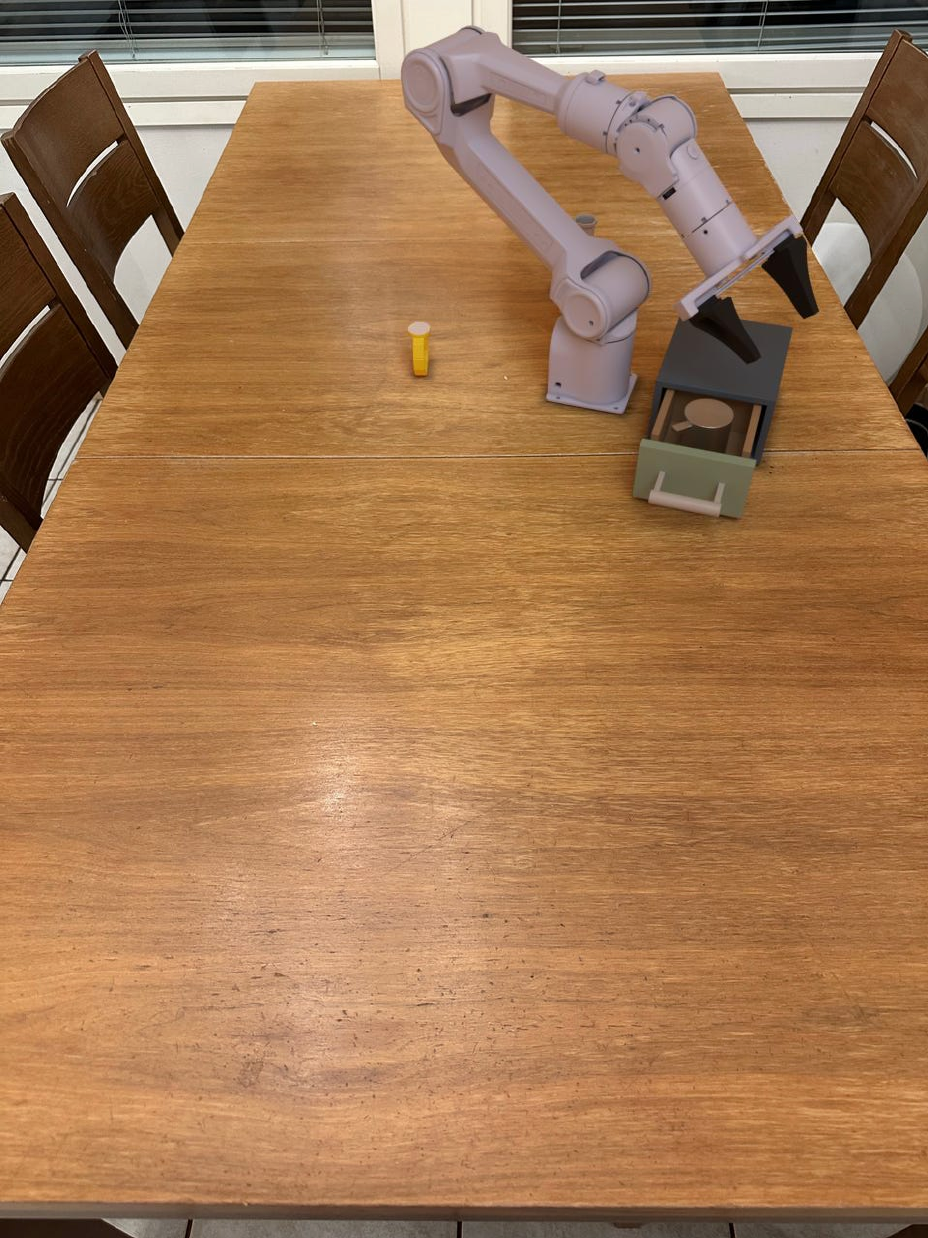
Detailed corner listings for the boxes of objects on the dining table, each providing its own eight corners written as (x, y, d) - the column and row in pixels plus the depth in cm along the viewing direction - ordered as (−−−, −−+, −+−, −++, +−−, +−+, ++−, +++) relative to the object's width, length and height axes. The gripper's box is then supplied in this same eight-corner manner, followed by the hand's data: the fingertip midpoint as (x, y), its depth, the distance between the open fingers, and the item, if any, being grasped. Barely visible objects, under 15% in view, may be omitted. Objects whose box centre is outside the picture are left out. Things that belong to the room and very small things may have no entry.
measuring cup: (705, 438, 104) (714, 393, 100) (732, 464, 101) (743, 418, 97) (654, 456, 102) (661, 411, 98) (680, 483, 99) (688, 437, 95)
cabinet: (759, 465, 104) (776, 400, 98) (646, 444, 107) (655, 379, 101) (776, 390, 113) (793, 326, 107) (671, 373, 116) (681, 309, 110)
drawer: (734, 548, 94) (748, 496, 89) (622, 524, 97) (629, 472, 92) (759, 440, 106) (772, 389, 100) (658, 421, 108) (666, 370, 103)
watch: (412, 355, 120) (409, 313, 116) (434, 355, 120) (432, 313, 115) (409, 383, 116) (405, 340, 112) (431, 383, 116) (428, 340, 112)
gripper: (667, 252, 87) (747, 374, 89) (785, 161, 88) (860, 284, 91) (639, 273, 94) (714, 386, 96) (748, 188, 95) (820, 302, 98)
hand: (783, 337), depth 94 cm, fingers open, 7 cm apart
